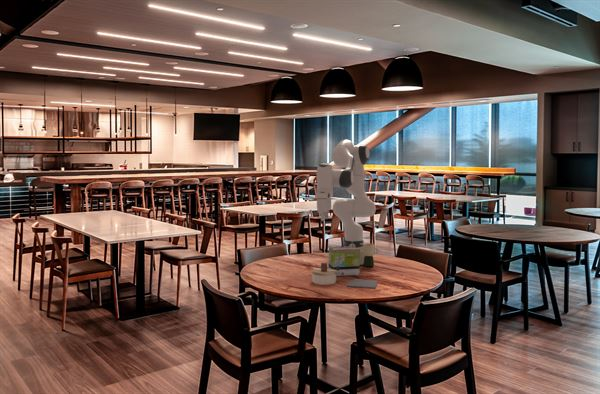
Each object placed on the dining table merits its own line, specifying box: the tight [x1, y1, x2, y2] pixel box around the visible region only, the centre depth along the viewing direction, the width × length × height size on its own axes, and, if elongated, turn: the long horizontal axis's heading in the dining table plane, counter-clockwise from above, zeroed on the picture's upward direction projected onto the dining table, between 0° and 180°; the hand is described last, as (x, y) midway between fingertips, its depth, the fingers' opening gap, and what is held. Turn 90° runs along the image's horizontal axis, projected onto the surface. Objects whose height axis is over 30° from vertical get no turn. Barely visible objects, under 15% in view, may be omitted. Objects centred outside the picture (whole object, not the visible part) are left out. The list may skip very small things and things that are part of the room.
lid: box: [311, 262, 337, 275], centre depth 264 cm, size 13×13×5 cm
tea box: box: [327, 246, 361, 277], centre depth 281 cm, size 15×10×15 cm
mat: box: [346, 278, 379, 289], centre depth 259 cm, size 14×14×1 cm
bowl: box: [311, 273, 337, 286], centre depth 264 cm, size 12×12×5 cm
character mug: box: [360, 243, 379, 267], centre depth 301 cm, size 11×7×13 cm, turn 79°
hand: (324, 219), depth 272 cm, fingers open, 8 cm apart
